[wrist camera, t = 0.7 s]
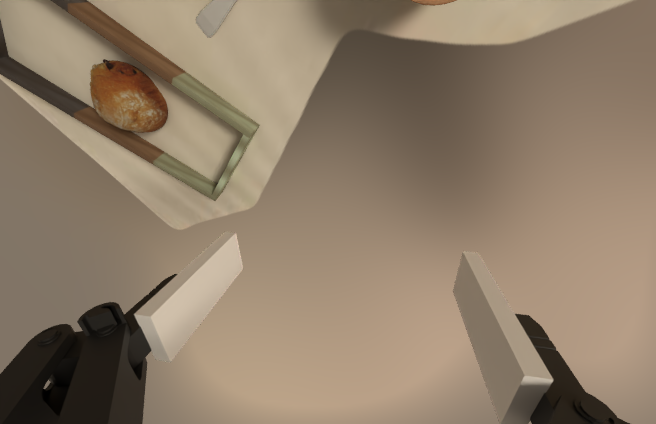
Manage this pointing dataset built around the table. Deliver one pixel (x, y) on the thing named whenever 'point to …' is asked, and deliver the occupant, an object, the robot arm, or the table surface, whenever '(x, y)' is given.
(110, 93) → the bread roll
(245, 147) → the multicolored rectangular frame
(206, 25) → the fork
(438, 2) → the lidded jar
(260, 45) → the table surface
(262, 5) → the table surface
